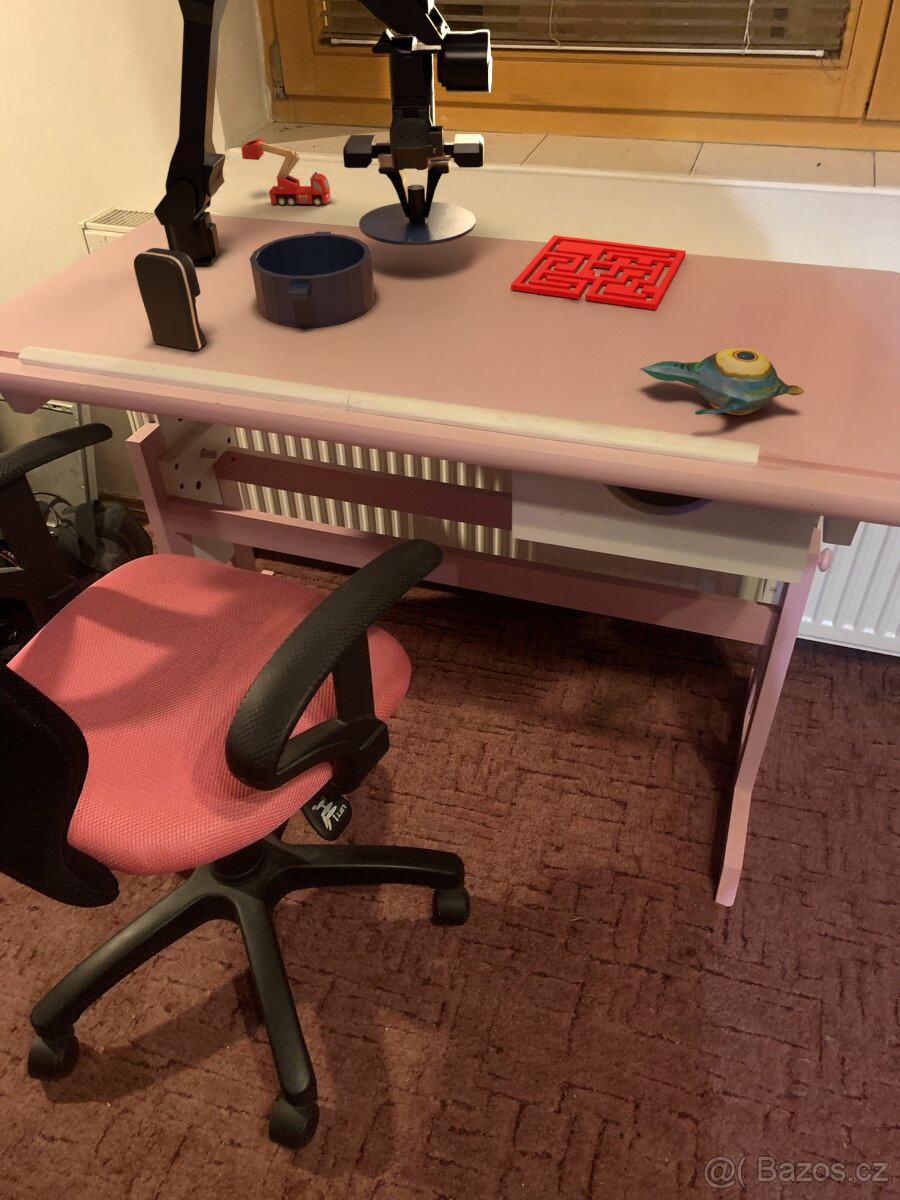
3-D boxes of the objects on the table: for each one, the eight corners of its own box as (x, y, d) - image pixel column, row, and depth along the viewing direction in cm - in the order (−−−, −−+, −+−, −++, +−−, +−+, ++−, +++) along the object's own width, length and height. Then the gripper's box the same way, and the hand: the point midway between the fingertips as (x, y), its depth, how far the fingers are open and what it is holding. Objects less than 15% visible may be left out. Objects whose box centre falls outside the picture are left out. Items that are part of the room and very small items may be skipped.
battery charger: (215, 340, 111) (196, 249, 104) (197, 353, 109) (176, 260, 101) (170, 331, 114) (148, 241, 106) (151, 344, 111) (127, 252, 103)
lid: (352, 250, 120) (348, 207, 116) (366, 209, 132) (363, 169, 129) (474, 250, 119) (474, 207, 115) (477, 208, 132) (477, 168, 128)
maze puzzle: (510, 289, 121) (510, 284, 120) (553, 239, 134) (553, 235, 134) (655, 309, 115) (656, 304, 114) (685, 255, 129) (685, 250, 128)
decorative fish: (729, 368, 103) (740, 319, 99) (798, 417, 94) (813, 366, 90) (634, 391, 99) (640, 341, 95) (696, 444, 91) (706, 392, 87)
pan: (242, 337, 112) (233, 287, 108) (275, 272, 128) (267, 226, 123) (364, 337, 111) (359, 286, 107) (382, 272, 127) (378, 226, 122)
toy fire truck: (329, 206, 149) (322, 144, 142) (249, 205, 150) (239, 143, 143) (333, 200, 151) (326, 138, 145) (255, 199, 152) (245, 138, 146)
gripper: (331, 108, 109) (344, 237, 119) (482, 107, 108) (481, 237, 118) (344, 87, 117) (354, 209, 127) (484, 86, 116) (483, 209, 127)
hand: (417, 216), depth 125 cm, fingers closed on lid, 2 cm apart
